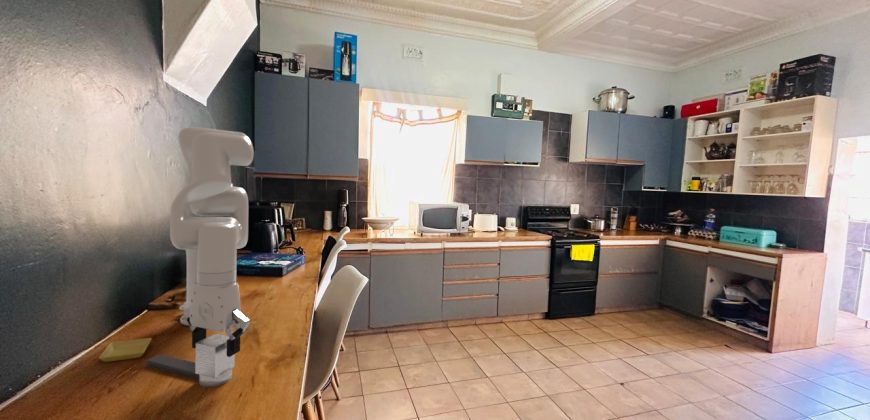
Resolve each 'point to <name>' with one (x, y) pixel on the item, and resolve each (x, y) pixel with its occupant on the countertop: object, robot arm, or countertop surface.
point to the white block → (213, 356)
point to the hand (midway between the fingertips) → (216, 349)
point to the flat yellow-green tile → (125, 350)
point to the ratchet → (186, 370)
